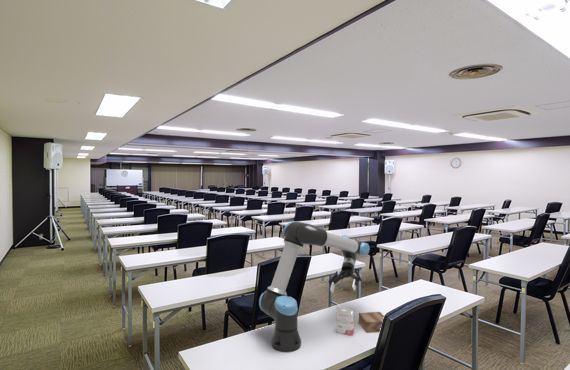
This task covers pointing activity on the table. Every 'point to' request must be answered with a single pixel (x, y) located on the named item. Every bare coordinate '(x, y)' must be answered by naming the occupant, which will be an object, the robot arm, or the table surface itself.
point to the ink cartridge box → (345, 321)
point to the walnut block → (371, 321)
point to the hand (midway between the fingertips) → (342, 290)
